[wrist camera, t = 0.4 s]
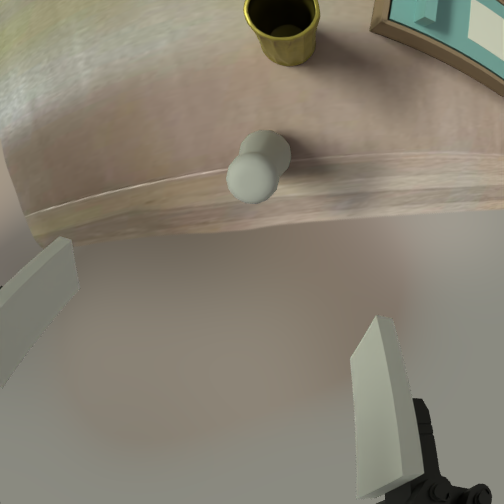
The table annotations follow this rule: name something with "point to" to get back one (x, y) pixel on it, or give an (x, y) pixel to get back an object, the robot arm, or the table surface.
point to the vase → (284, 28)
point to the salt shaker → (258, 166)
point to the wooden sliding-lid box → (431, 46)
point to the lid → (458, 27)
